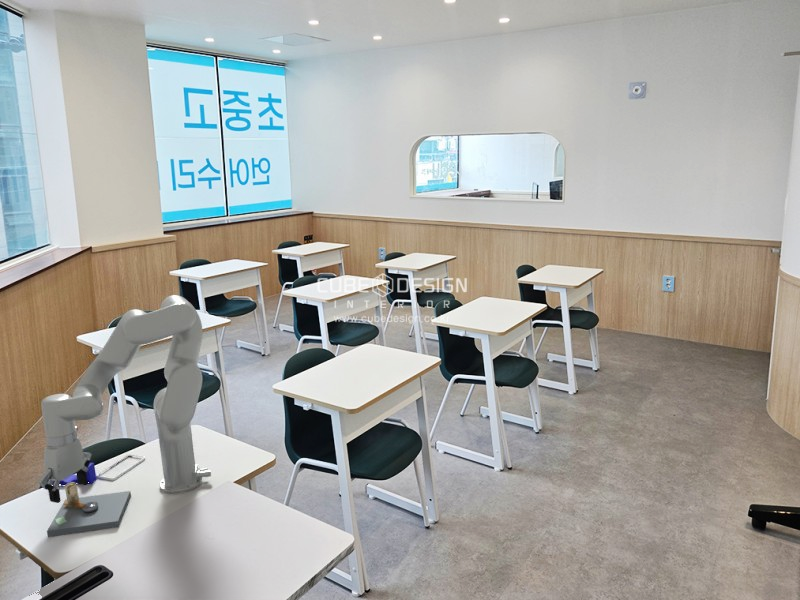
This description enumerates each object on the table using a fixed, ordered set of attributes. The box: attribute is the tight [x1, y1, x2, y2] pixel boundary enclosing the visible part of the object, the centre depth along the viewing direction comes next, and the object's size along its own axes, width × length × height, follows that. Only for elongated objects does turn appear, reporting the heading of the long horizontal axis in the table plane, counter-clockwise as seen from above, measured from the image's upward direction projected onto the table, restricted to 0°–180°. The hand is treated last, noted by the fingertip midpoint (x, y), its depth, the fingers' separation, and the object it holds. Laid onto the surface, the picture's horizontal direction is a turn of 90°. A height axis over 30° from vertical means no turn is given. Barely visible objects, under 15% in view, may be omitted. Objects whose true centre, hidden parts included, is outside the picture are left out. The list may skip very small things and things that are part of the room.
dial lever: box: [63, 482, 98, 513], centre depth 172 cm, size 11×4×7 cm, turn 72°
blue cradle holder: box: [52, 462, 97, 485], centre depth 190 cm, size 12×4×6 cm, turn 85°
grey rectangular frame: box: [96, 453, 146, 482], centre depth 199 cm, size 7×1×15 cm
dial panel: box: [46, 490, 132, 538], centre depth 172 cm, size 18×16×2 cm
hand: (69, 492), depth 172 cm, fingers open, 9 cm apart
